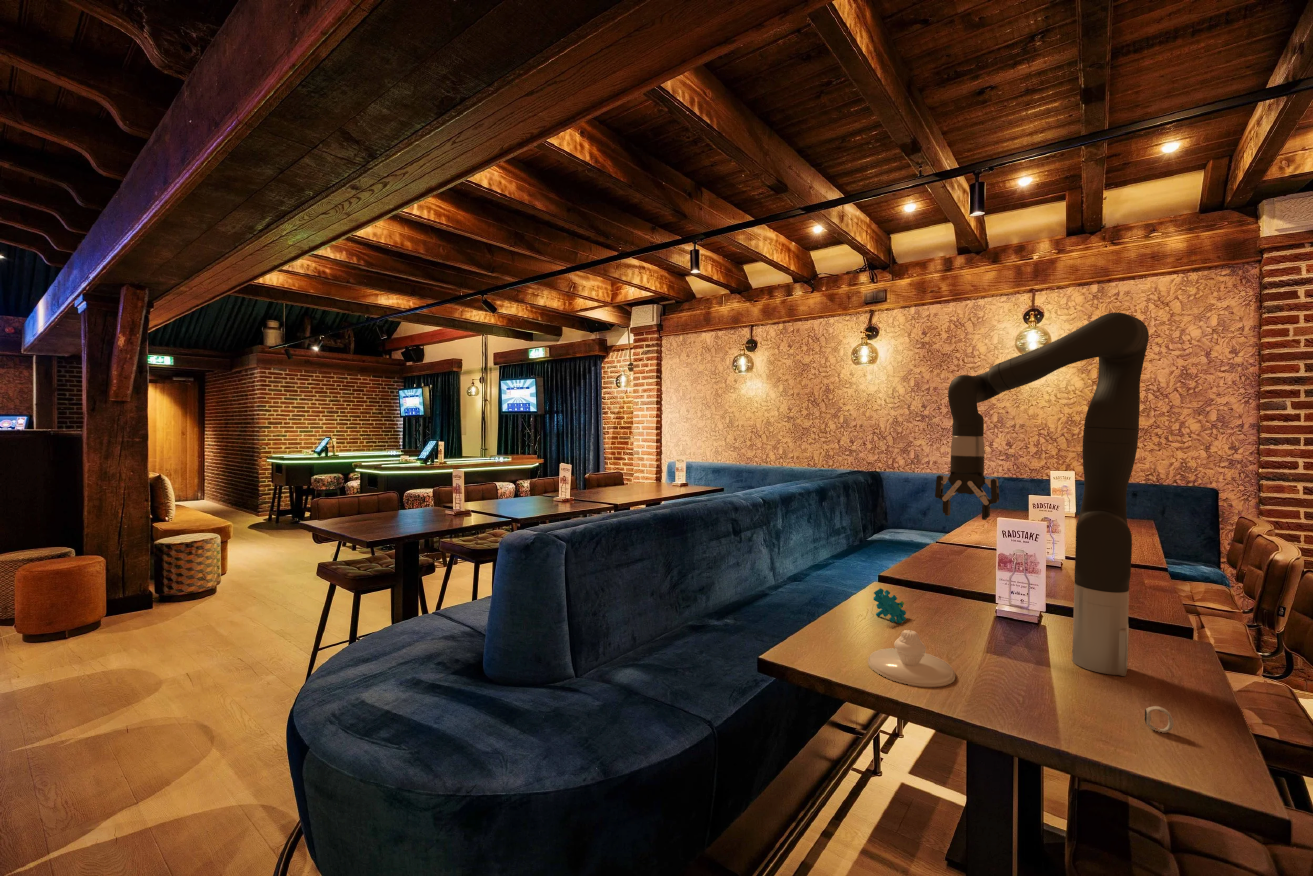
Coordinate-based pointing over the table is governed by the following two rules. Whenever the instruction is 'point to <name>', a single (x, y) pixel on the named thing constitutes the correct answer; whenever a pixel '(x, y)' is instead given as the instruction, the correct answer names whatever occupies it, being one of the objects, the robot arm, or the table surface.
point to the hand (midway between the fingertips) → (965, 517)
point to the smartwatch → (1148, 710)
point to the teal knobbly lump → (889, 606)
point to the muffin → (910, 648)
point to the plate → (912, 669)
